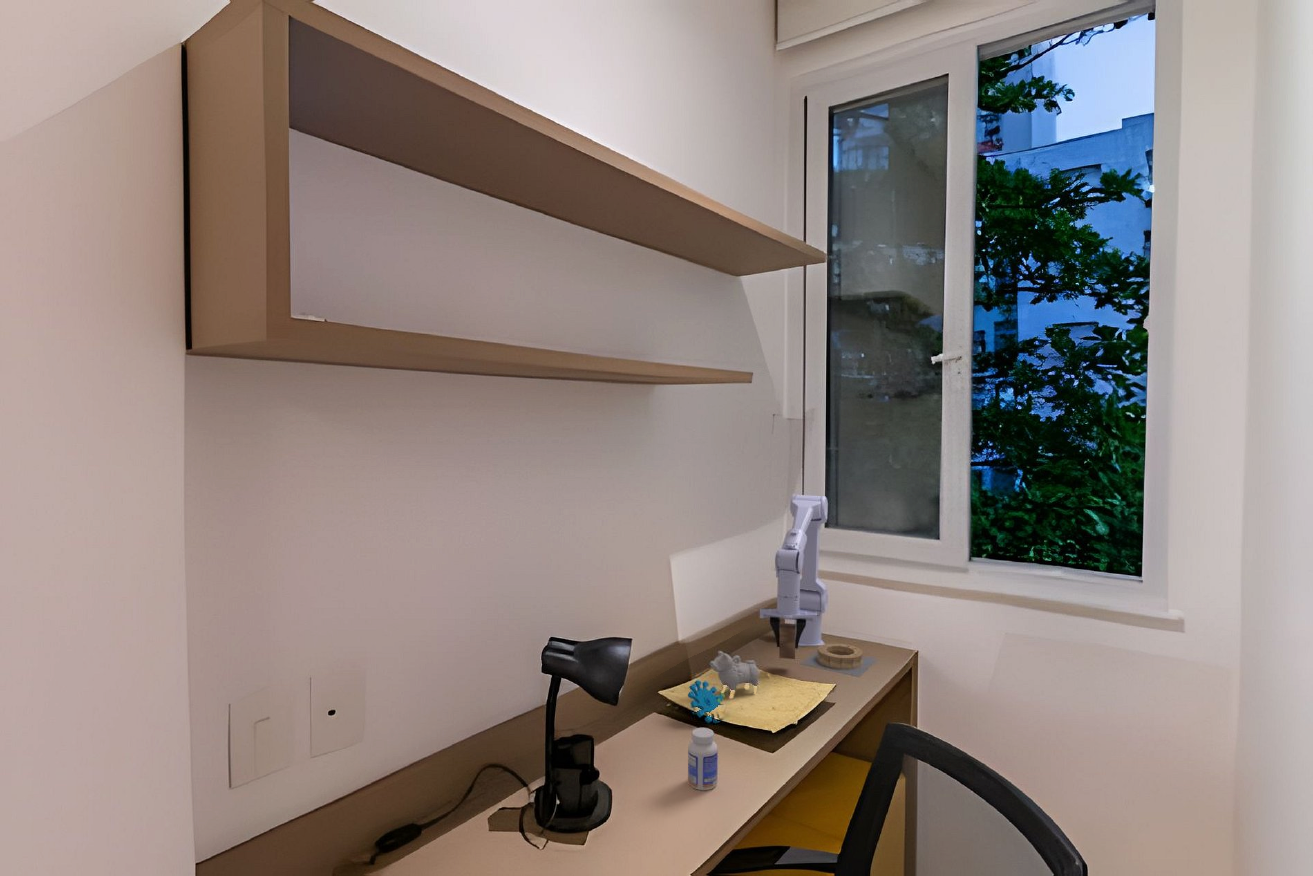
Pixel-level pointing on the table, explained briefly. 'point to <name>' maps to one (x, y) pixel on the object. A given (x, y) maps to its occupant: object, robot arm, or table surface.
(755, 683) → the grey dog figurine
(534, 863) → the table surface
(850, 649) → the tan stone ring
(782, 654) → the walnut peg
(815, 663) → the craft mat
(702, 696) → the blue knobby piece
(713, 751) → the pill bottle
